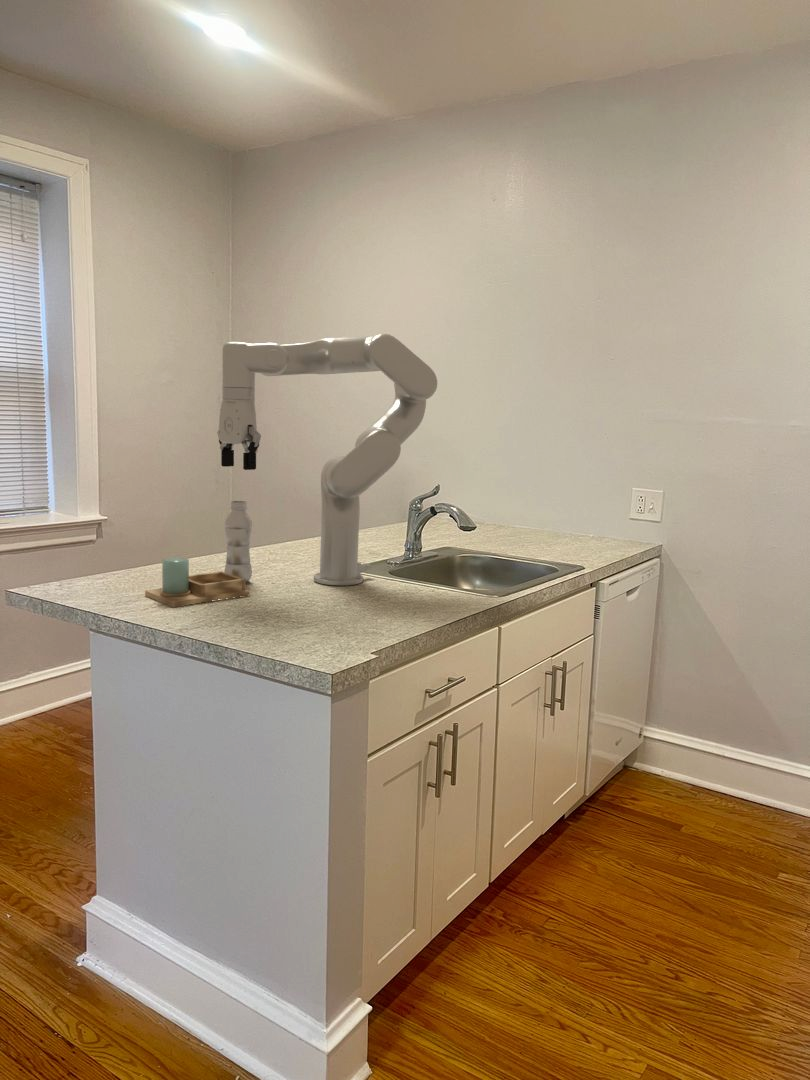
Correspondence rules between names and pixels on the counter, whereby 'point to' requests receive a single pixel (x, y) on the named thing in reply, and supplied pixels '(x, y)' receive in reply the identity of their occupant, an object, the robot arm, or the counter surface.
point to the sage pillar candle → (175, 575)
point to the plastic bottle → (238, 541)
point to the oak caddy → (203, 589)
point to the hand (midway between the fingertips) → (238, 467)
